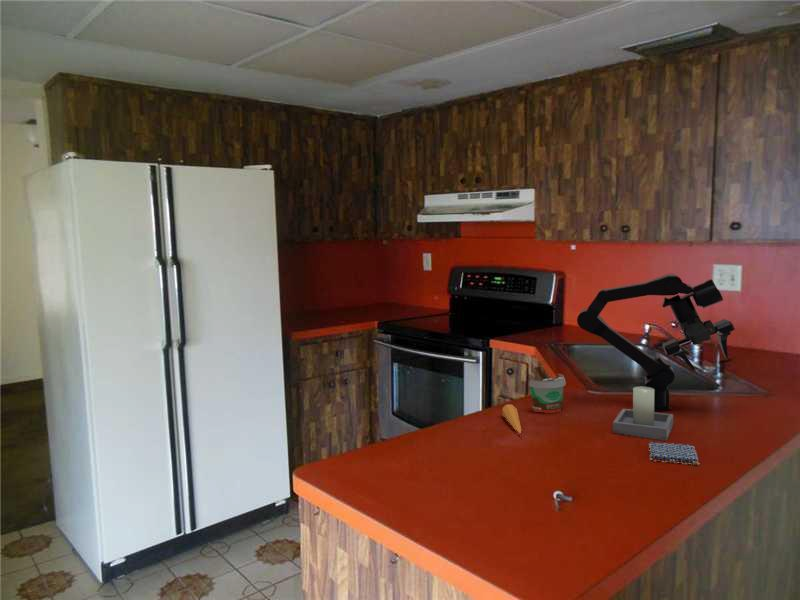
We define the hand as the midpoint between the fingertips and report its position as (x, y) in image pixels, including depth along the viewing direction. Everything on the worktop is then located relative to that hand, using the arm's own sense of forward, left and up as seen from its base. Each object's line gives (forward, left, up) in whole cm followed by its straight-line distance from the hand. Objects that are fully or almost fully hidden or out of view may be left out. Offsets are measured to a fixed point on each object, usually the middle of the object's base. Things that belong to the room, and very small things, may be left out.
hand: (710, 364), depth 168 cm
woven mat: (-29, -27, -15) cm, 42 cm away
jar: (-26, -9, -13) cm, 30 cm away
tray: (-26, -9, -14) cm, 31 cm away
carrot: (-58, +1, -14) cm, 60 cm away
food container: (-43, +12, -14) cm, 46 cm away
